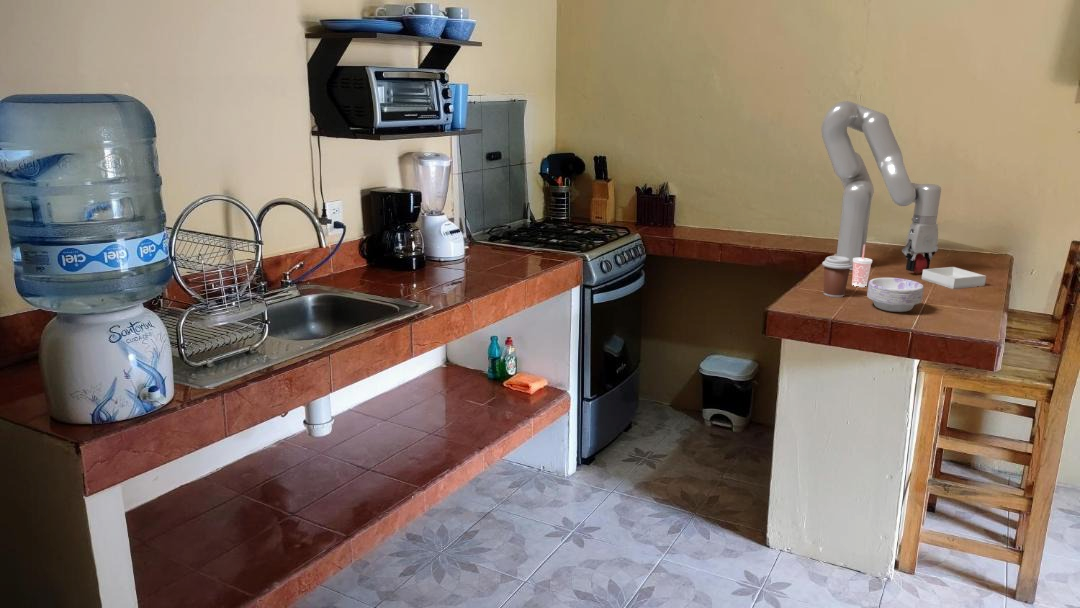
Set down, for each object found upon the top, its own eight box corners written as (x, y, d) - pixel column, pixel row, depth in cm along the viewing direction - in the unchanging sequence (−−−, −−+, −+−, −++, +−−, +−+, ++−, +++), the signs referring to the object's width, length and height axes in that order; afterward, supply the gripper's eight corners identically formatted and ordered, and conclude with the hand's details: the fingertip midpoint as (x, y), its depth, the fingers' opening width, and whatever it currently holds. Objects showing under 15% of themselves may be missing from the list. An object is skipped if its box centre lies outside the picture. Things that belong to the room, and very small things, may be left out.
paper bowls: (855, 306, 236) (858, 281, 234) (883, 298, 244) (887, 274, 242) (902, 318, 224) (906, 292, 222) (930, 310, 233) (934, 284, 230)
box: (953, 289, 256) (954, 278, 255) (921, 279, 268) (922, 269, 267) (984, 285, 260) (986, 275, 259) (952, 276, 273) (953, 266, 272)
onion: (924, 272, 277) (927, 251, 275) (926, 276, 272) (929, 254, 270) (906, 271, 279) (910, 249, 277) (908, 275, 274) (911, 253, 272)
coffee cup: (845, 300, 242) (850, 262, 239) (815, 295, 247) (819, 259, 244) (851, 293, 250) (856, 257, 246) (822, 289, 254) (826, 253, 251)
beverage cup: (845, 284, 261) (850, 243, 257) (859, 282, 264) (864, 242, 260) (859, 288, 256) (864, 247, 252) (873, 286, 258) (878, 245, 254)
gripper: (913, 223, 264) (905, 274, 269) (952, 220, 270) (944, 270, 275) (896, 219, 271) (890, 269, 276) (935, 217, 276) (928, 266, 281)
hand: (917, 269), depth 275 cm, fingers closed on onion, 5 cm apart
